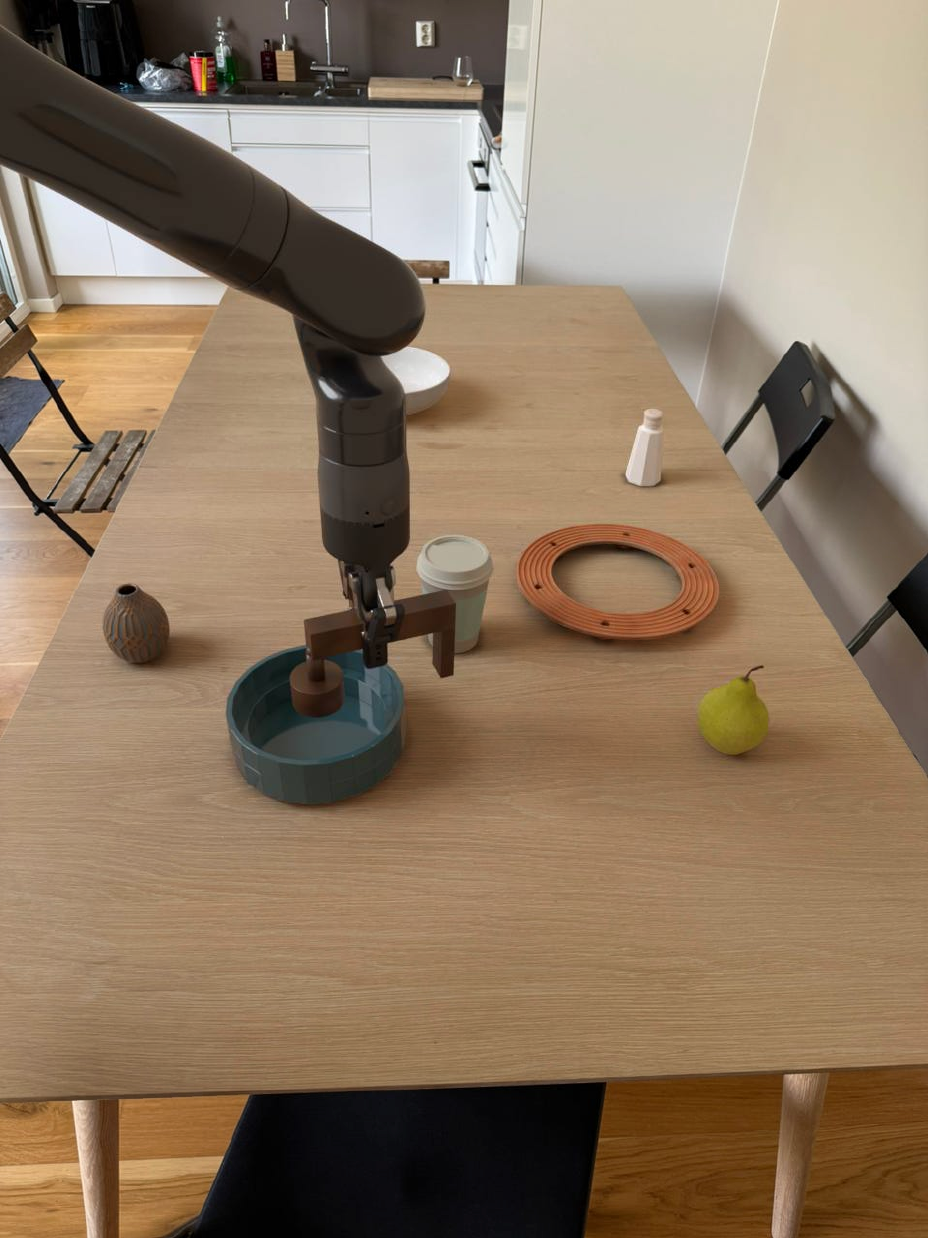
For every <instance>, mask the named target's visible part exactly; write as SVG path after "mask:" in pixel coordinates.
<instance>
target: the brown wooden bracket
mask: <svg viewBox="0 0 928 1238" xmlns="http://www.w3.org/2000/svg"><path fill="white" fill-rule="evenodd" d="M399 603H402V604H403V607H404V608H405V617H404V620H403V623H402V626H401V629H400V632H399V636H398V639H397V641H395V642H400V641H405V640H409V639H414V638H417V637H423V636H426V635H427V636H428V634H431V633H433V646H432V662H431V663H432V666H433V668H434V670H435V671H436V673H437V675H438V676H439V678H440V679H445V678H450V677H453V676H455V653H454V651H455V623H456V602H455V601H454V599H453V598H452V596H451V595H450V593H449V592H448V590H442V591H437V592H433V593H428V594H420V595H414V596H409V597H405V598H399V599H394V604H399ZM370 621H371V619H370V620H369V625H370ZM303 628H304V639H305V645H306V646H307V648H306V662H303V663H301V664H300V665H298V666H297V667H295V668H294V669H293V671H292V672H291V675H290V687H291V695H292V704H293V707H294V708H295V710H296V711H297V712H298V713H300V714H302V715H304V716H307V717H312V718H320V717H326V716H329V715H332V714H334V713H335V712H337V711H338V710H339V709H340V708H341V707H342V706H343V704H344V701H345V691H344V675H343V671H342V669H341V668H340V667H339V666H338V665H337V664H336V663H334V662H331V661H328V660H324V658H325V657H330V656H334V655H339V654H343V653H348V652H352V651H356V650H363V644H362V636H361V621H360V620H359V619H358V617H357V615H356V614H355V612H354V609H352V610H349V609H348V610H343V611H340V612H339V611H338V612H333V613H329V614H323V615H319V616H315V617H310V618H305V619H303ZM391 643H393V642H389V643H388V644H391Z"/></svg>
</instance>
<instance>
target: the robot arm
mask: <svg viewBox="0 0 928 1238" xmlns="http://www.w3.org/2000/svg"><path fill="white" fill-rule="evenodd" d="M0 166H2V167H4V168H5V169H8V170H10V171H12V172H15V173H17V174H19V175H21V176H22V177H25V178H27V179H29V180H31V181H33V182H35V183H38V184H40V185H41V186H44V187H45V188H48V189H49V190H51V191H54V192H55V193H57V194H59V195H61V196H62V197H64V198H66V199H68V200H70V201H72V202H74V203H76V204H77V205H79V206H81V207H83V208H84V209H86V210H88V211H90V212H92V213H94V214H95V215H97V216H99V217H101V218H102V219H104V220H106V221H108V222H109V223H112V224H113V225H115V226H117V227H118V228H120V229H122V230H124V231H126V232H127V233H129V234H131V235H133V236H134V237H136V238H138V239H140V240H142V241H143V242H145V243H147V244H149V245H150V246H152V247H153V248H155V249H158V250H159V251H160V252H163V253H164V254H166V255H169V256H170V257H172V258H173V259H175V260H177V261H179V262H181V263H183V264H184V265H186V266H189V267H191V268H192V269H195V270H197V271H198V272H200V273H203V274H204V275H206V276H208V277H209V278H212V279H214V280H216V281H218V282H220V283H222V284H224V285H225V286H228V287H230V288H232V289H234V290H236V291H238V292H241V293H243V294H245V295H247V296H249V297H252V298H255V299H258V300H261V301H264V302H266V303H269V304H271V305H274V306H276V307H278V308H280V309H282V310H284V311H286V312H287V313H289V314H291V315H292V320H293V325H294V329H295V333H296V337H297V340H298V344H299V348H300V351H301V356H302V359H303V362H304V366H305V370H306V372H307V375H308V378H309V381H310V385H311V386H312V390H313V393H314V396H315V411H316V412H315V413H316V415H315V416H316V429H317V444H318V460H317V461H318V462H317V487H318V499H319V500H318V501H319V512H320V513H319V514H320V515H319V516H320V527H321V528H320V529H321V540H322V541H321V542H322V545H323V548H324V550H325V551H326V552H327V553H328V554H329V555H330V556H331V557H333V558H334V559H335V560H337V564H338V570H339V575H340V580H341V587H342V595H343V597H344V599H345V600H347V601H348V607H347V608H348V610H352V609H354V612H355V614H356V615H357V617H358V619H359V620H360V621H361V636H362V644H363V649H362V650H363V663H364V665H365V667H366V668H367V669H372V668H377V667H381V666H384V665H386V664H388V662H389V650H388V649H389V648H388V645H389V644H390V643H389V642H392V643H394V642H395V641H396V642H398V641H397V639H398V636H399V632H400V629H401V626H402V623H403V620H404V617H405V608H404V607H403V604H402V603H399V604H394V601H395V592H394V587H395V585H396V584H397V580H396V577H397V576H396V571H395V570H396V569H395V567H394V565H393V564H392V563H393V562H394V561H395V560H396V559H398V557H400V556H401V555H403V553H404V552H405V551H406V550H407V548H408V547H409V545H410V541H411V490H410V489H411V475H410V464H409V458H408V449H407V447H408V446H407V415H406V398H405V392H404V388H403V386H402V384H401V382H400V381H399V379H398V378H397V377H396V376H395V375H394V373H393V372H392V371H391V370H390V369H389V368H388V367H387V366H386V364H385V363H384V361H383V359H382V357H381V356H386V355H390V354H394V353H396V352H398V351H400V350H402V349H404V348H405V347H406V346H407V347H409V345H410V344H412V343H413V341H414V340H415V339H416V338H417V337H418V335H419V333H420V332H421V329H422V327H423V326H424V325H423V324H424V322H425V318H426V309H427V308H426V307H427V306H426V296H425V293H424V289H423V285H422V283H421V281H420V279H419V277H418V276H417V274H416V272H415V271H414V269H413V268H412V267H411V266H410V265H409V264H408V263H407V262H406V261H405V260H404V259H402V258H401V257H399V256H398V255H396V254H395V253H394V252H391V250H388V249H386V248H385V247H383V246H381V245H379V244H377V243H376V242H374V241H372V240H370V239H368V238H367V237H365V236H363V235H361V234H359V233H357V232H355V231H353V230H351V229H349V228H347V227H346V226H344V225H342V224H340V223H338V222H336V221H335V220H332V219H330V218H328V217H326V216H324V215H322V214H321V213H319V212H318V211H316V210H315V209H313V208H311V207H310V206H309V205H308V204H306V203H304V202H303V201H302V200H300V199H299V198H298V197H296V196H295V195H294V194H292V193H291V192H290V191H289V190H287V189H286V188H285V187H283V186H282V185H280V184H278V183H277V182H276V181H274V180H272V179H271V178H269V177H268V176H267V175H265V174H263V173H262V172H261V171H259V170H257V169H256V168H254V167H253V166H251V165H250V164H248V163H246V162H245V161H243V160H242V159H240V158H239V157H237V156H235V155H234V154H232V153H231V152H229V151H228V150H225V149H224V148H222V147H221V146H219V145H217V144H215V143H214V142H212V141H210V140H208V139H206V138H205V137H203V136H201V135H199V134H197V133H196V132H193V131H192V130H189V129H187V128H186V127H183V126H181V125H179V124H178V123H175V122H174V121H171V120H170V119H168V118H166V117H164V116H161V115H159V114H157V113H155V112H154V111H151V110H149V109H147V108H146V107H143V106H141V105H139V104H138V103H137V104H136V103H135V102H132V101H131V100H129V99H126V98H124V97H122V96H121V95H119V94H116V93H114V92H112V91H110V90H109V89H106V88H105V87H102V86H100V85H98V84H97V83H95V82H93V81H91V80H89V79H87V78H86V77H84V76H82V75H80V74H78V73H77V72H75V71H73V70H72V69H70V68H68V67H66V66H65V65H63V64H61V63H60V62H57V61H56V60H54V59H52V58H51V57H50V56H48V55H46V54H44V53H43V52H42V51H40V50H39V49H37V48H36V47H34V46H32V45H30V44H29V43H27V42H26V41H25V40H23V39H22V38H20V37H19V36H18V35H16V34H14V33H13V32H11V30H9V29H7V28H6V27H5V26H4V25H2V24H1V23H0ZM370 619H371V621H370V625H369V620H370Z"/></svg>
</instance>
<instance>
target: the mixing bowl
mask: <svg viewBox="0 0 928 1238" xmlns="http://www.w3.org/2000/svg"><path fill="white" fill-rule="evenodd" d="M306 648H307V646H306V644H303V645H298V646H294V647H289V648H285V649H282V650H279V651H278V652H275V653H272V654H270V655H267V656H266V657H264V658H262V659H261V660H259V661H257V662H256V663H255V664H253V665H252V666H250V667H248V668H247V669H246V670H245V671H244V672H243V673H242V675H241V676H240V677H239V678H238V679H236V680H235V682H234V684H233V686H232V688H231V690H230V692H229V693H228V696H227V698H226V705H225V719H226V724H227V725H226V726H227V730H228V735H229V741H230V746H231V750H232V755H233V758H234V763H235V766H236V769H237V770H238V771H239V773H240V774H241V775H242V777H243V778H244V780H245V781H246V782H247V783H248V785H250V786H252V787H253V788H255V789H256V790H257V791H259V792H260V793H261V794H263V795H265V796H268V797H271V798H273V799H276V800H279V801H281V802H283V803H284V802H285V803H292V804H300V805H318V804H332V803H336V802H339V801H343V800H347V799H350V798H353V797H357V796H359V795H360V794H363V793H364V792H366V791H368V790H370V789H372V788H374V787H376V786H377V785H378V784H379V783H380V782H381V781H383V780H384V779H385V778H386V777H387V776H388V775H390V774H391V773H392V772H393V770H394V769H395V767H396V765H397V764H398V763H399V760H400V759H401V758H402V755H403V752H404V748H405V744H406V738H407V736H406V732H407V731H406V697H405V689H404V684H403V683H402V681H401V678H400V677H399V676H398V674H397V671H396V670H394V669H393V668H392V666H390V665H389V664H388V663H387V664H386V665H384V666H381V667H377V668H372V669H367V668H366V667H365V665H364V663H363V649H361V650H356V651H352V652H348V653H343V654H339V655H334V656H330V657H325V658H324V660H328V661H331V662H334V663H336V664H337V665H338V666H339V667H340V668H341V669H342V671H343V675H344V691H345V701H344V704H343V706H342V707H341V708H340V709H339V710H338V711H337V712H335V713H334V714H332V715H329V716H326V717H320V718H312V717H307V716H304V715H302V714H300V713H298V712H297V711H296V710H295V708H294V707H293V704H292V695H291V687H290V675H291V672H292V671H293V669H294V668H295V667H297V666H298V665H300V664H301V663H303V662H306Z"/></svg>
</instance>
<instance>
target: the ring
mask: <svg viewBox="0 0 928 1238" xmlns="http://www.w3.org/2000/svg"><path fill="white" fill-rule="evenodd" d="M605 544H607V545H618V547H619V548H620V549H623V550H627V549H630V548H631V547H632V548H636V549H640V550H642V551H644V552H645V551H646V552H648V553H651V554H653V555H655V556H657V557H659V558H661V560H664V562H666V563H668V564H669V565H670V566H671V567H672V568H673V569H674V570H675V572H676V573H677V575H678V577H679V579H680V582H681V589H680V592H679V595H678V596H677V597H676V598H675V599H674V601H672V602H671V603H669V604H668V605H665V606H663V607H660V608H658V609H655V610H651V611H646V612H637V613H636V612H635V613H620V612H610V611H604V610H599V609H595V608H592V607H591V606H590V607H589V606H587V605H584V604H581V603H580V602H578V601H576V600H574V599H572V598H571V597H569V596H568V595H567V594H565V593H564V592H563V591H562V590H561V589H560V588H559V587H558V586H557V584H556V582H555V581H554V578H553V573H552V569H553V566H554V565H555V561H556V560H557V559H558V558H559V557H561V556H562V555H564V554H565V553H566V552H569V551H572V550H574V549H577V548H580V547H584V546H585V547H586V546H591V545H592V546H593V545H605ZM515 579H516V583H517V586H518V589H519V590H520V593H521V594H522V596H523V598H525V600H526V601H527V602H528V603H529V605H530V606H531V607H533V608H534V609H535V610H536V611H537V612H539V613H540V614H541V615H542V616H544V617H545V618H547V619H549V620H550V621H552V622H554V623H556V624H558V625H560V626H562V627H564V628H566V629H570V630H572V631H575V632H578V633H582V634H585V635H589V636H593V637H597V639H599V640H601V641H604V640H607V639H608V640H609V639H610V640H621V641H643V640H644V641H645V640H654V639H660V638H666V637H670V636H673V635H677V634H680V633H683V632H686V631H687V630H690V629H691V628H693V627H695V626H697V625H699V623H701V622H702V621H704V620H705V619H707V617H709V615H710V614H711V613H712V612H713V611H714V609H715V608H716V605H717V603H718V601H719V597H720V584H719V580H718V577H717V575H716V573H715V572H714V570H713V568H712V567H711V565H710V564H709V563H708V561H706V559H705V558H704V557H703V556H702V555H700V554H699V553H698V552H697V551H695V550H694V549H693V548H691V547H690V546H688V545H686V544H685V543H683V542H681V541H680V540H678V539H676V538H673V537H671V536H669V535H667V534H663V533H660V532H659V531H654V530H651V529H647V528H643V527H638V526H634V525H627V524H626V525H625V524H619V523H617V524H616V523H586V524H579V525H571V526H567V527H563V528H559V529H555V530H552V531H550V532H547V533H546V534H544V535H541V536H540V537H538V538H536V539H535V540H533V541H532V542H531V543H530V544H529V545H528V546H527V547H526V548H524V550H523V551H522V552H521V554H520V556H519V557H518V560H517V562H516V566H515Z"/></svg>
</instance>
